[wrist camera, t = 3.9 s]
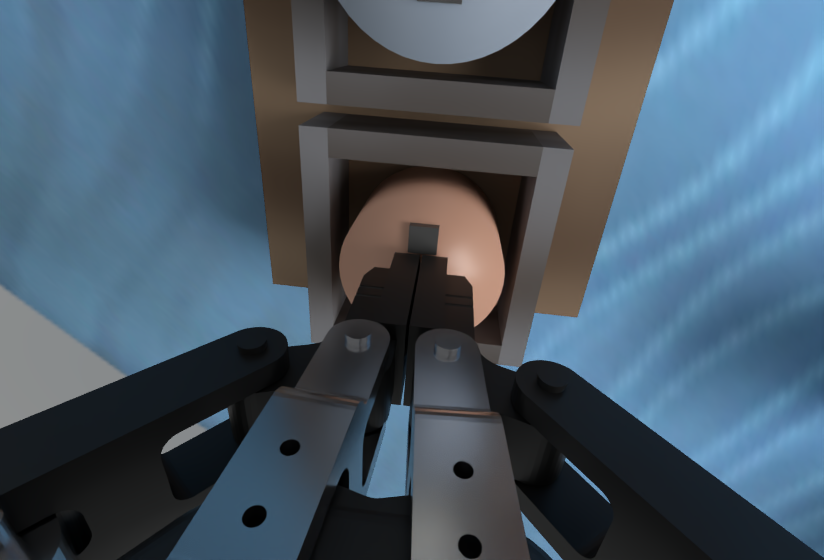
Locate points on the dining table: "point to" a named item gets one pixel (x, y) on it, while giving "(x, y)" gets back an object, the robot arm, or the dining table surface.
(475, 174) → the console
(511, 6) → the button two
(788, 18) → the dining table surface
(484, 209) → the button three
